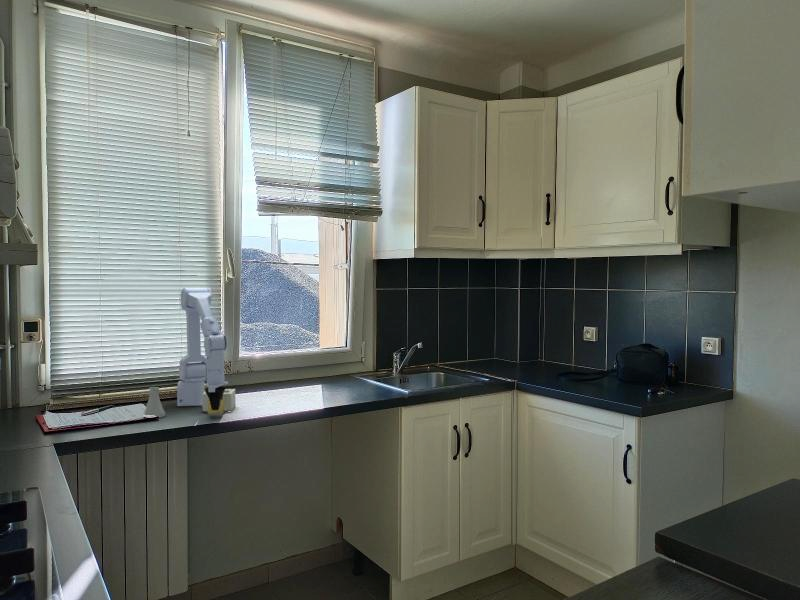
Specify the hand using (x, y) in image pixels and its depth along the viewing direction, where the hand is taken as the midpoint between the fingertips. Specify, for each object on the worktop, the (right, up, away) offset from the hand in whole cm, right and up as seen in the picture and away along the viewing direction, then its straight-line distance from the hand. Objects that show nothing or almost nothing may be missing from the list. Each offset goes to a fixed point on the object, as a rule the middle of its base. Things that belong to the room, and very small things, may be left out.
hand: (216, 408), depth 205 cm
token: (0, -2, 0) cm, 2 cm away
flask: (-21, -3, 0) cm, 21 cm away
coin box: (-2, -2, +11) cm, 11 cm away
